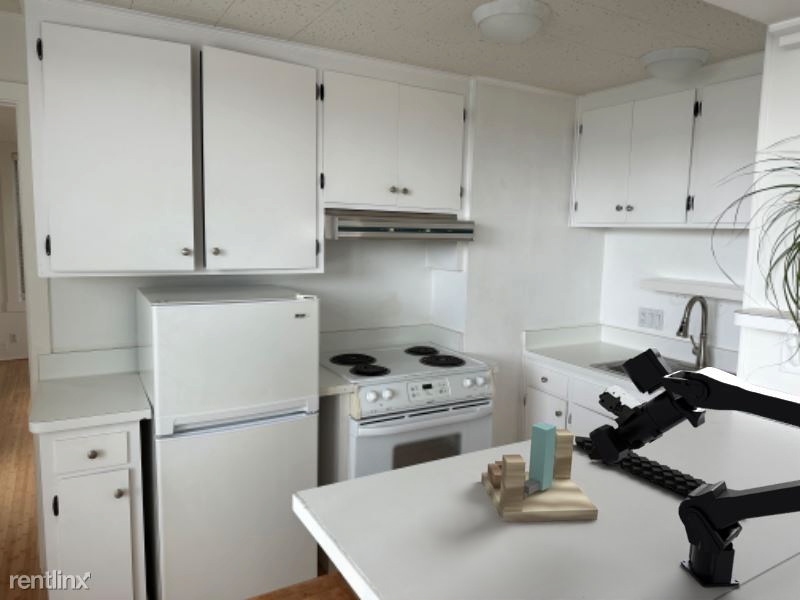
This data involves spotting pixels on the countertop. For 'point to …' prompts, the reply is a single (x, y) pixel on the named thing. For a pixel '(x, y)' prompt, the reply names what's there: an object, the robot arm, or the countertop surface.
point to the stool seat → (548, 504)
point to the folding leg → (541, 457)
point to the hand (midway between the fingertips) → (595, 454)
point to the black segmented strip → (650, 469)
